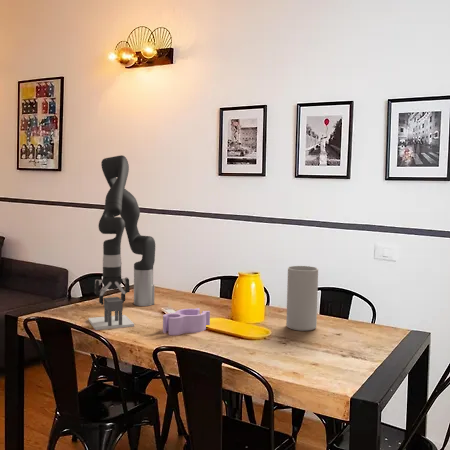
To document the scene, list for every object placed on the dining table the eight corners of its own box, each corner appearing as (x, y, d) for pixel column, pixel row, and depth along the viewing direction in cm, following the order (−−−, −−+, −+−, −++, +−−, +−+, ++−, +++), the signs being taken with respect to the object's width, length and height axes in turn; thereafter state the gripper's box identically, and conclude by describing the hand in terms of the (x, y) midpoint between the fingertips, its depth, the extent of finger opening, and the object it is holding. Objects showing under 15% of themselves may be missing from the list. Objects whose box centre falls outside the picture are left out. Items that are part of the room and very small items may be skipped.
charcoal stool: (108, 302, 230) (103, 297, 237) (108, 326, 231) (103, 321, 238) (122, 300, 232) (118, 296, 239) (122, 324, 233) (118, 320, 240)
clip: (175, 337, 220) (175, 320, 219) (156, 330, 229) (156, 314, 229) (214, 328, 234) (214, 312, 233) (194, 322, 243) (194, 306, 242)
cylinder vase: (292, 321, 246) (293, 264, 244) (320, 325, 240) (321, 267, 238) (282, 328, 235) (283, 269, 232) (311, 332, 229) (313, 271, 227)
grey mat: (125, 317, 249) (125, 314, 249) (134, 326, 235) (134, 323, 235) (88, 320, 243) (88, 317, 243) (95, 329, 228) (95, 327, 228)
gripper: (126, 262, 241) (126, 300, 242) (92, 264, 235) (93, 302, 237) (131, 265, 234) (131, 304, 236) (96, 267, 228) (96, 306, 230)
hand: (112, 303), depth 236 cm, fingers open, 8 cm apart
